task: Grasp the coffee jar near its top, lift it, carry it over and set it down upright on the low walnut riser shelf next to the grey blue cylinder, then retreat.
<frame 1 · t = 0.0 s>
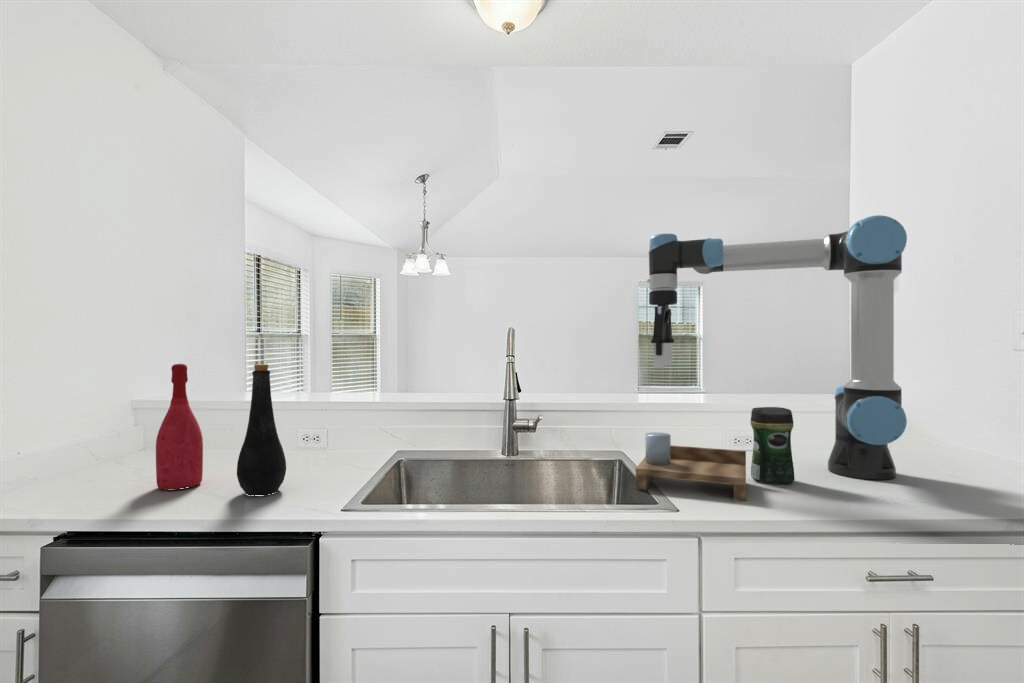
hand: (663, 366, 150), 28 cm above the countertop, fingers open, 13 cm apart
bottle: (262, 493, 126), on the countertop
grey blue cylinder: (658, 462, 134), point 5 cm above the countertop, touching shelf
shelf: (691, 486, 130), on the countertop
wine bottle: (180, 487, 132), on the countertop
coffee jar: (771, 481, 135), on the countertop
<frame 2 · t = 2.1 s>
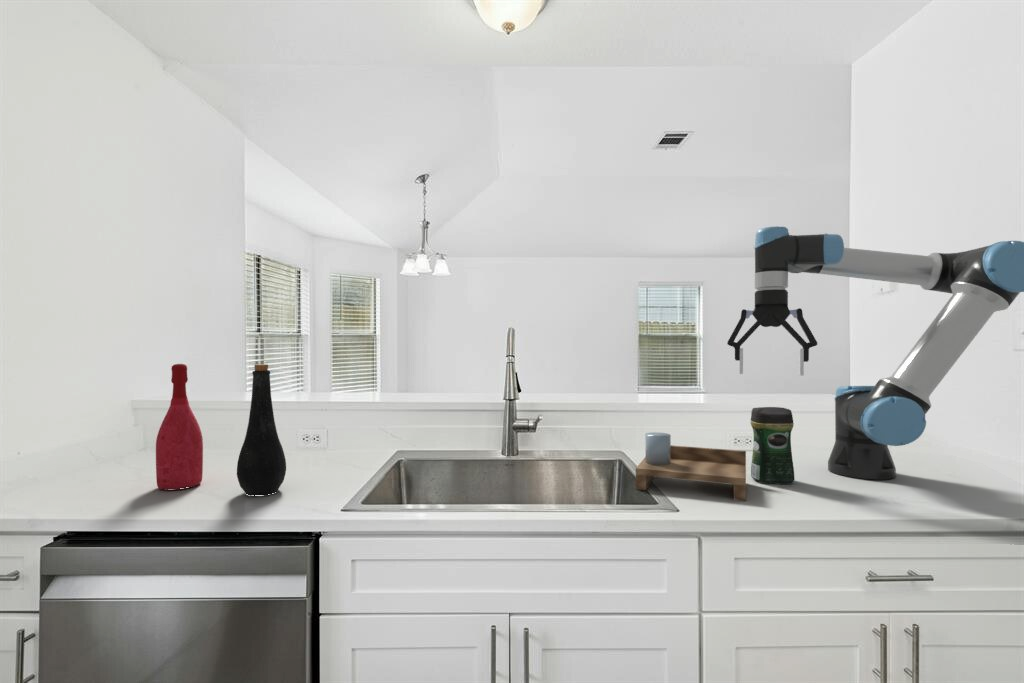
hand: (770, 374, 135), 27 cm above the countertop, fingers open, 13 cm apart
nothing on the countertop moved.
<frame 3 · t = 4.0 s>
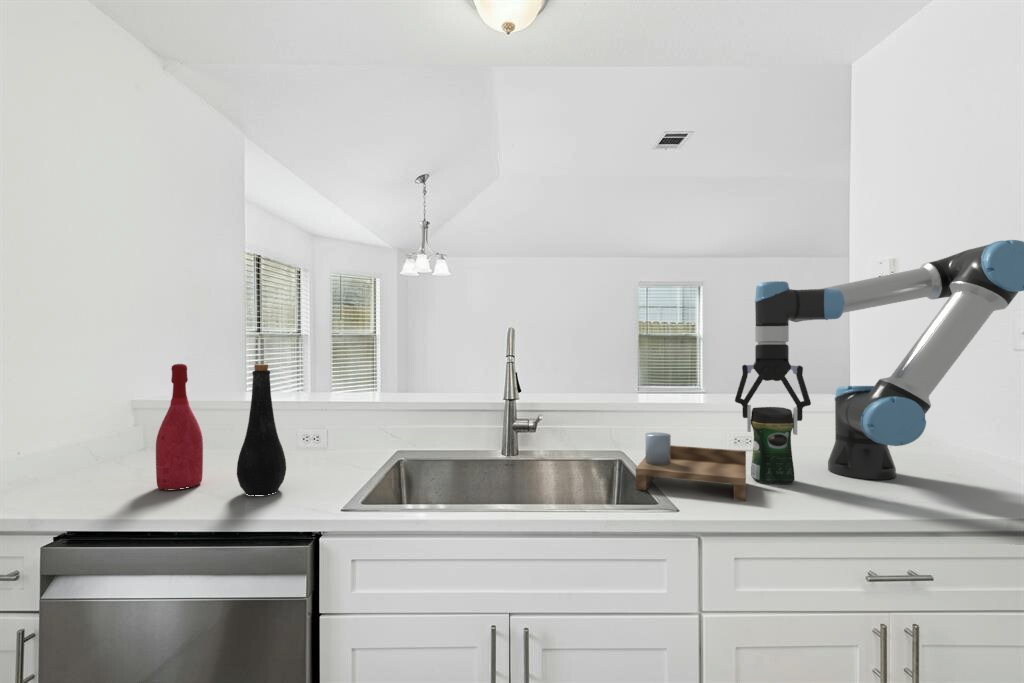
hand: (771, 432, 135), 12 cm above the countertop, fingers closed on coffee jar, 10 cm apart
coffee jar: (771, 481, 135), on the countertop, touching gripper
everything else where it was.
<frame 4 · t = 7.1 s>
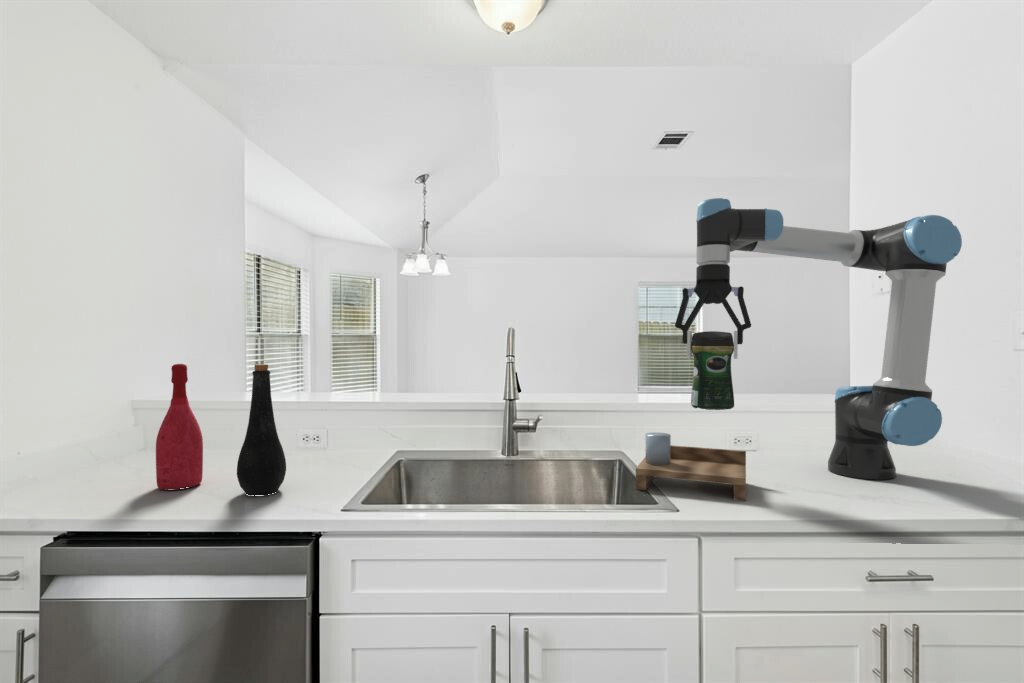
hand: (712, 358, 129), 31 cm above the countertop, fingers closed on coffee jar, 10 cm apart
coffee jar: (711, 409, 129), point 19 cm above the countertop, touching gripper
everything else where it was.
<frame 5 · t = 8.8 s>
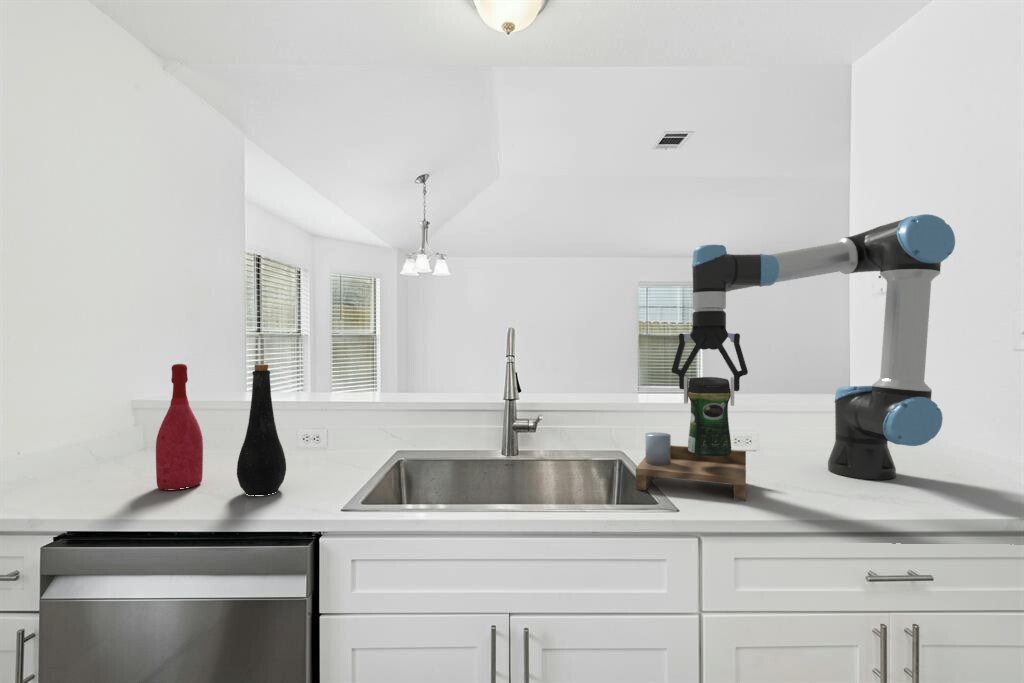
hand: (708, 403, 129), 20 cm above the countertop, fingers closed on coffee jar, 10 cm apart
coffee jar: (708, 455, 129), point 8 cm above the countertop, touching gripper
everything else where it was.
when the fingers open (18 cm above the countertop, at t = 10.1 s): coffee jar stays where it is, resting on shelf.
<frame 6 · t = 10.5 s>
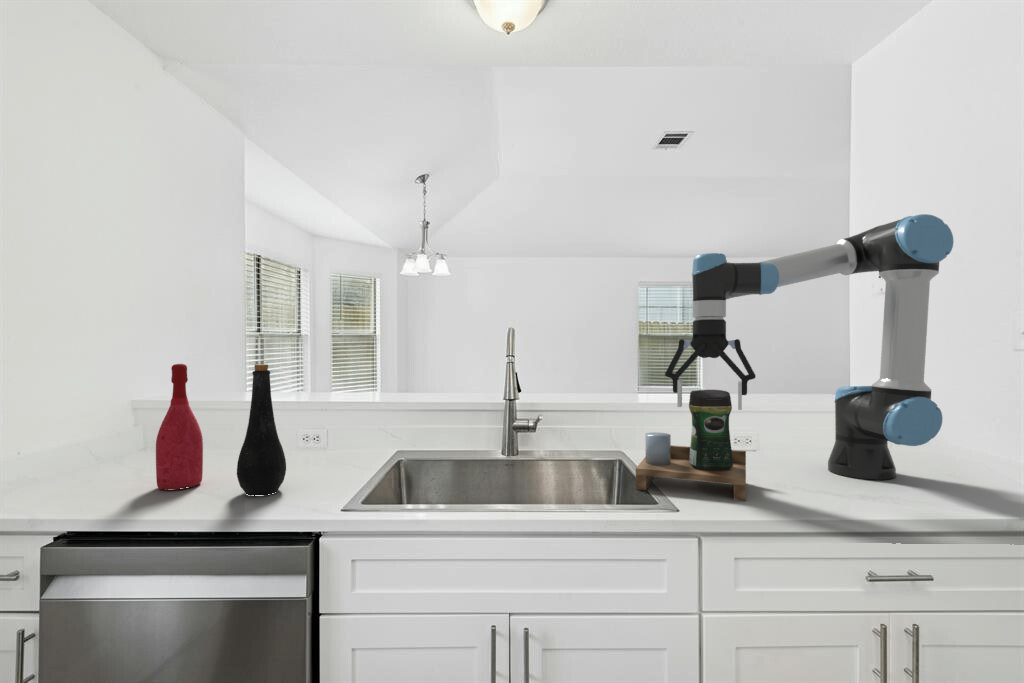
hand: (709, 407, 129), 19 cm above the countertop, fingers open, 13 cm apart
coffee jar: (710, 467, 129), point 5 cm above the countertop, touching shelf
everything else where it was.
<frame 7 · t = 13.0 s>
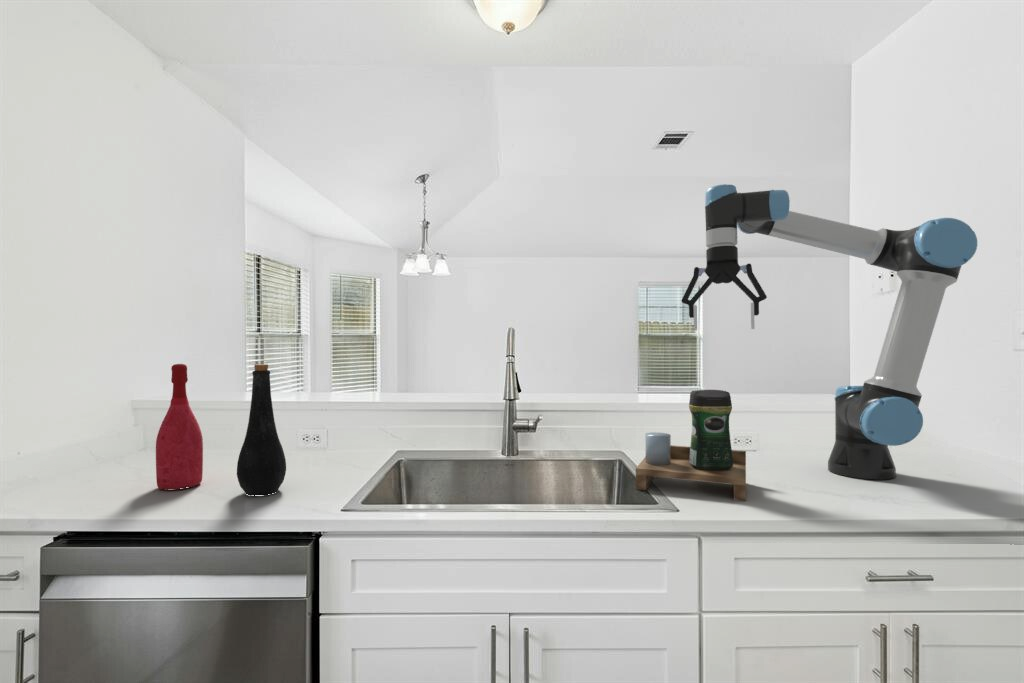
hand: (723, 329, 138), 38 cm above the countertop, fingers open, 13 cm apart
nothing on the countertop moved.
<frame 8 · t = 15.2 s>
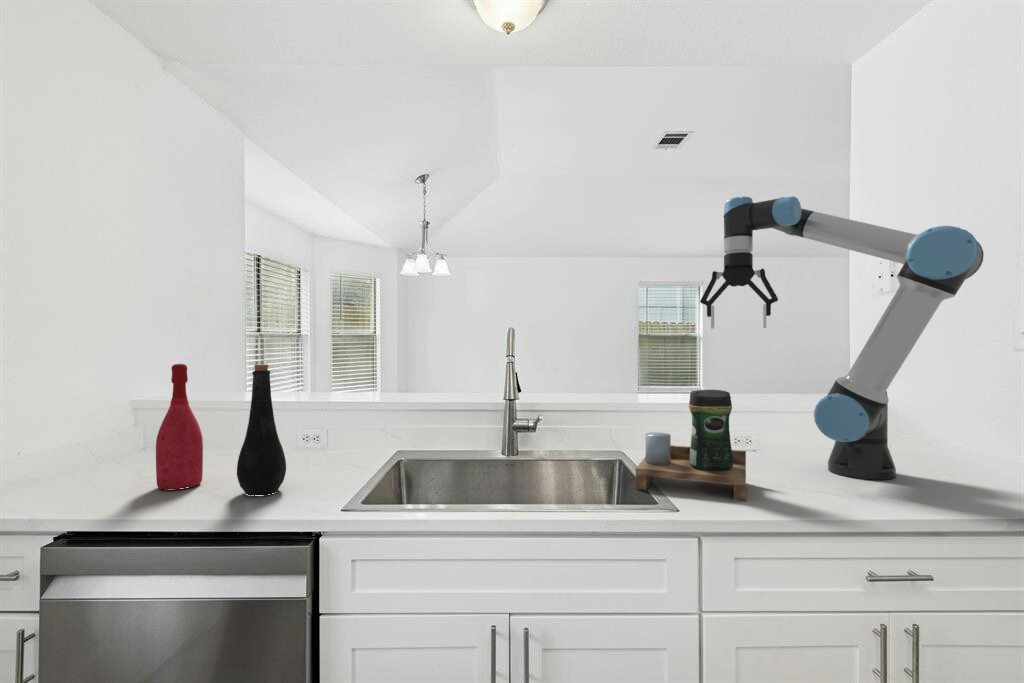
hand: (738, 328, 153), 39 cm above the countertop, fingers open, 13 cm apart
nothing on the countertop moved.
at the end: coffee jar inside the target area on the shelf (0.7 cm from its centre), point 4.8 cm above the shelf's base; coffee jar tilted 0°; the gripper is holding nothing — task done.
